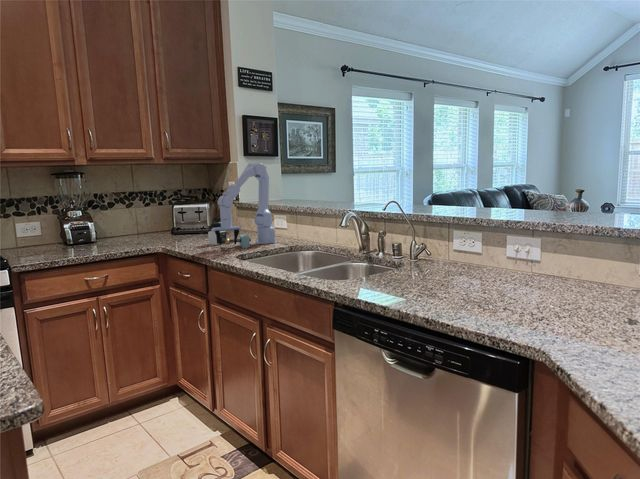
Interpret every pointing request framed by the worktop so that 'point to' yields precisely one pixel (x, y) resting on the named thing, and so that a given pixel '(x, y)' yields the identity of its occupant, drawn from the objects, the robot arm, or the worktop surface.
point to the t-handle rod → (233, 240)
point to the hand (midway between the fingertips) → (227, 244)
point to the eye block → (244, 241)
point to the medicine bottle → (212, 236)
